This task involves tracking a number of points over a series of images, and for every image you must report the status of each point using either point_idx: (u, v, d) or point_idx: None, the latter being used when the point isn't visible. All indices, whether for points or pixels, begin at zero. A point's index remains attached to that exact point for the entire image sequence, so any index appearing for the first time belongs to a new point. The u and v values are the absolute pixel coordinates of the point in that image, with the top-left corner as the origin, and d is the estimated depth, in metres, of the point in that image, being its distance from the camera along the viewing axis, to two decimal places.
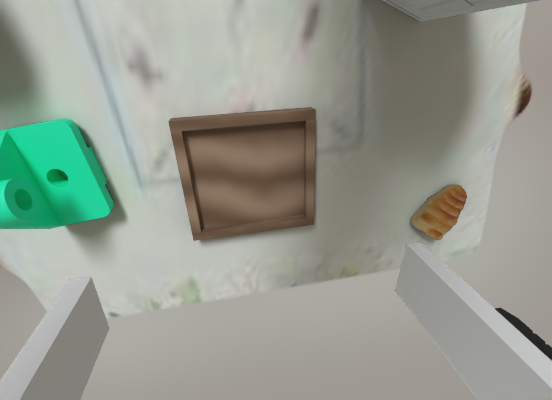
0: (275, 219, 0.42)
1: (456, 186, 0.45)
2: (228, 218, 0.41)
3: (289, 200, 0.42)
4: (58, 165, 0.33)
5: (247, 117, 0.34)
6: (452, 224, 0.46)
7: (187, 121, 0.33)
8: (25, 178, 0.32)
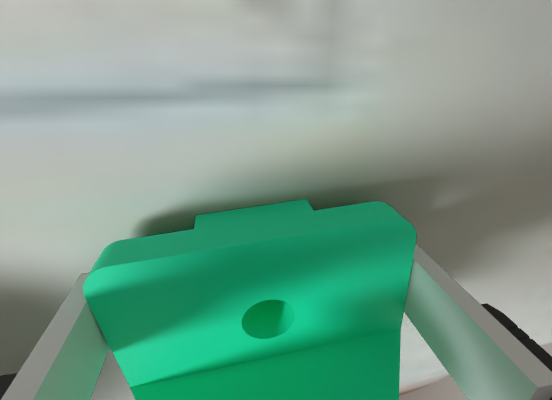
0: None
1: None
2: None
3: None
4: (231, 312, 0.11)
5: None
6: None
7: None
8: (254, 390, 0.11)
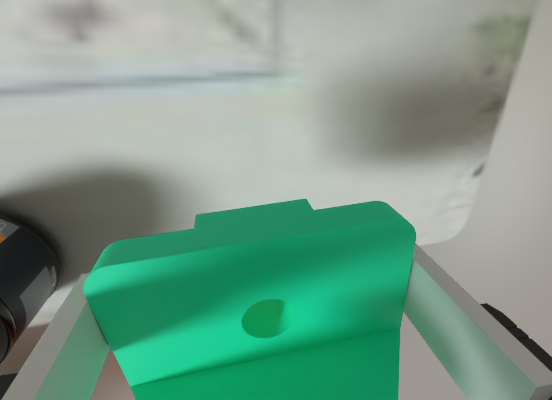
0: None
1: None
2: None
3: None
4: (231, 312, 0.11)
5: None
6: None
7: None
8: (254, 389, 0.11)
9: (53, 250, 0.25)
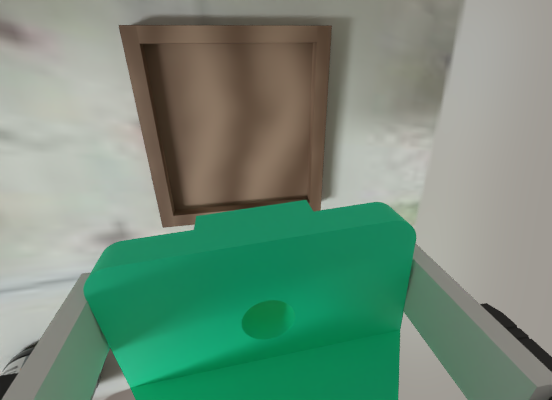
0: (312, 97, 0.27)
1: None
2: (299, 164, 0.30)
3: (282, 70, 0.26)
4: (231, 313, 0.11)
5: (146, 138, 0.25)
6: None
7: (160, 208, 0.28)
8: (254, 391, 0.11)
9: None
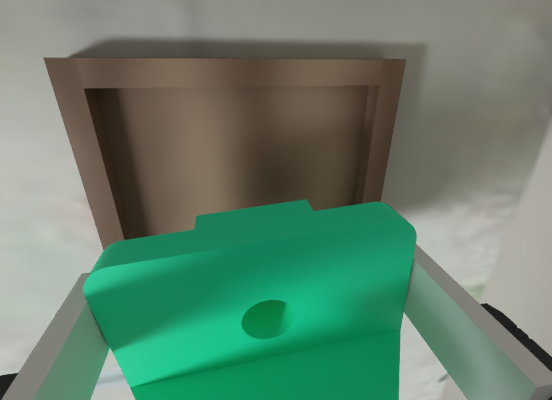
0: (361, 162, 0.18)
1: None
2: None
3: (320, 123, 0.16)
4: (231, 313, 0.11)
5: (102, 230, 0.16)
6: None
7: None
8: (254, 391, 0.11)
9: None
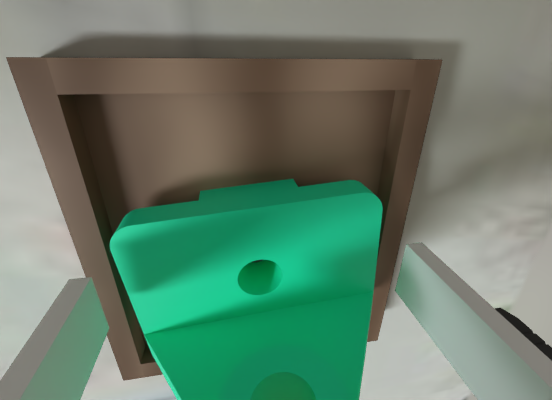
0: (384, 177, 0.15)
1: None
2: None
3: (338, 134, 0.14)
4: (229, 270, 0.13)
5: (85, 258, 0.13)
6: None
7: (118, 357, 0.16)
8: (248, 336, 0.14)
9: None
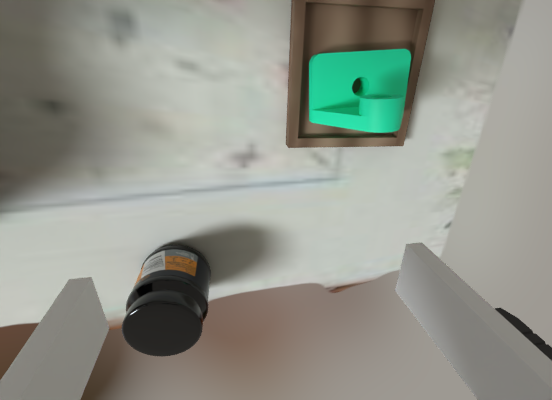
0: (411, 51, 0.36)
1: None
2: None
3: (393, 29, 0.35)
4: (350, 80, 0.34)
5: (293, 73, 0.34)
6: None
7: (290, 131, 0.37)
8: (355, 108, 0.35)
9: (209, 268, 0.46)
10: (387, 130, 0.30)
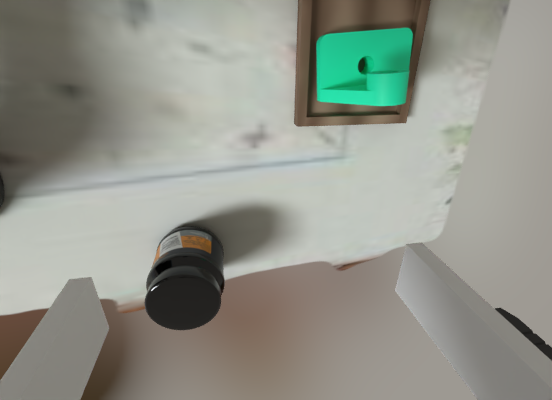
0: (412, 30, 0.38)
1: None
2: None
3: (395, 9, 0.37)
4: (355, 59, 0.36)
5: (302, 53, 0.36)
6: None
7: (299, 110, 0.39)
8: (362, 86, 0.36)
9: (222, 248, 0.47)
10: (394, 103, 0.31)
